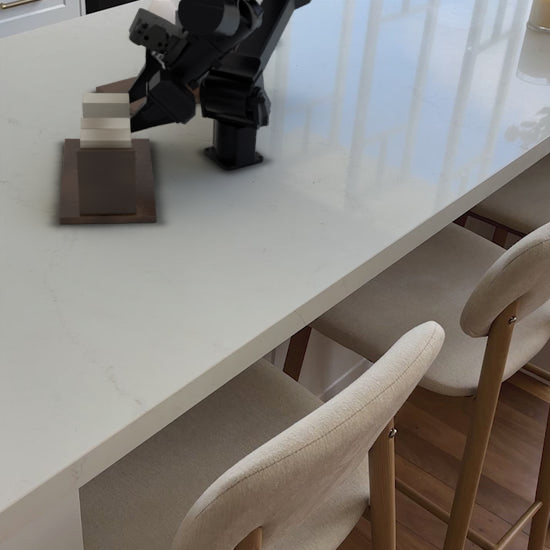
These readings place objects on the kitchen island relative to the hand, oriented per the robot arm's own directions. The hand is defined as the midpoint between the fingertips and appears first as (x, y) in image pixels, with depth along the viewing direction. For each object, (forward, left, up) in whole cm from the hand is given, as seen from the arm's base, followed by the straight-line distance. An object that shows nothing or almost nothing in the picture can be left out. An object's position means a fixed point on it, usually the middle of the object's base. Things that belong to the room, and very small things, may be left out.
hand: (125, 115), depth 118 cm
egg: (+42, -29, -9) cm, 52 cm away
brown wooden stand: (-1, +4, -8) cm, 9 cm away
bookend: (+20, -20, -8) cm, 30 cm away
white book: (+1, +2, -7) cm, 8 cm away
